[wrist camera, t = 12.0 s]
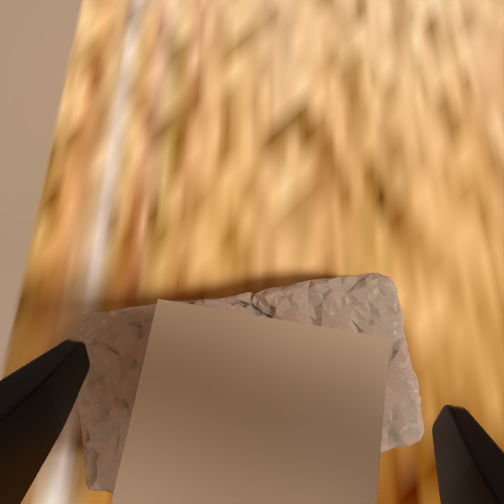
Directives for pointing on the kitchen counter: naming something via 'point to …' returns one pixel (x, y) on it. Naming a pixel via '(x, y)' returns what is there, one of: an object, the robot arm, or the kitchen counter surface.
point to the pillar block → (253, 412)
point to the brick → (261, 304)
